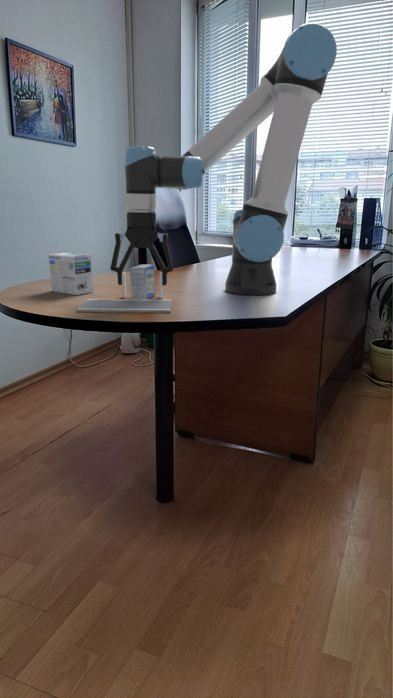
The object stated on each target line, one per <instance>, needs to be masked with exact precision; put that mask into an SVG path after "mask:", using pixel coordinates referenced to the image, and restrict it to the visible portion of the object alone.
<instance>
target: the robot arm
mask: <svg viewBox="0 0 393 698" xmlns="http://www.w3.org/2000/svg"><path fill="white" fill-rule="evenodd" d="M337 51H338V49H337V43H336V39H335V38H334V35H333V33H332V32H331V31H330V30H329V28H327V27H326V26H325V25H323V24H320V23H317V22H308V23H304V24H302V25H300V26H298V27H296V29H294V30H293V31H292V32H291V33H290V34H289V36H288V37H287V38H286V41H285V42H284V46H283V48H282V50H281V52H280V54H279V56H278V58H277V59H276V61H275V62H274V64H273V65H272V66H271V67H270V68H269V70H268V71H266V73H265V74H264V75H263V76H262V77H261V78H260V84H259V85H257V87H256V88H255V89H253V90H252V91H251V92H250V93H249V94H248V95H247V96H245V98H244V99H243V100H242V101H240V103H238V104H237V105H236V106H235V107H234V108H232V109H231V111H230V112H229V113H227V114H226V115H225V116H224V117H222V119H221V120H220V121H219V122H218V123H217V124H215V125H214V126H213V127H212V128H211V129H210V130H209V131H207V133H205V134H204V135H203V136H202V137H201V138H200V139H199V140H198V141H197V142H195V143H194V144H193V146H192V147H190V148H189V149H188V150H187V151H186V152H185V153H184V154H183V155H180V156H179V155H170V156H168V155H167V156H166V155H164V156H163V155H157V153H156V149H155V148H154V147H152V146H143V145H142V146H141V145H136V146H134V145H133V146H129V147H127V148H126V150H125V165H124V168H125V170H124V171H125V190H126V191H125V200H126V201H125V202H126V206H125V207H126V210H128V211H127V212H126V231H125V232H117V233H115V234H114V238H115V239H114V240H115V246H114V250H113V254H112V258H111V263H110V271H112V272H115V273H117V284H118V285H119V286H121V291H122V292H121V293H122V294H121V295H122V298H123V299H125V298H126V297H127V276H126V275H127V274H126V271H124V269H125V267H126V265H127V263H128V261H129V259H130V257H131V256H132V254H133V251H134V249H141V248H142V249H149V251H150V252H151V254H152V257H153V258H154V259H155V261H156V263H157V266H158V267H159V269H160V271H161V272H159V275H158V276H159V279H158V281H159V282H158V283H159V284H158V285H159V299H163V297H164V296H163V295H164V294H163V293H164V290H163V288H164V286H167V284H168V283H167V282H168V273H170V272H173V270H174V265H173V261H172V256H171V252H170V247H169V245H168V237H169V235H168V233H166V232H165V233H160V232H158V230H157V214H156V212H154V211H156V208H157V206H156V205H157V204H156V203H157V202H156V201H157V200H156V199H157V197H156V192H157V191H156V189H157V188H170V189H172V188H173V189H174V188H175V189H178V190H183V191H184V190H188V189H199V188H201V187H202V186H203V176H204V174H207V172H208V171H209V170H211V169H212V167H213V166H215V165H216V164H217V163H218V162H220V160H222V159H223V158H224V157H225V156H226V155H227V154H228V153H229V152H231V151H232V150H233V149H234V148H235V147H236V146H237V145H238V144H240V143H241V142H242V141H243V140H244V139H245V138H246V137H248V136H249V135H250V134H251V133H252V132H253V131H254V130H255V129H256V128H258V126H259V125H261V124H262V123H263V122H264V121H266V119H268V118H269V117H270V116H271V115H272V116H271V121H270V125H269V128H268V132H267V137H266V141H265V144H264V149H263V152H262V156H261V159H260V160H261V161H260V164H259V167H258V170H257V171H258V172H257V176H256V180H255V184H254V187H253V191H252V195H251V198H249V199H247V200H246V201H244V202H243V206H242V209H238V210H236V211H235V212H234V214H233V219H232V225H233V226H232V227H233V228H232V229H233V230H232V253H231V254H232V255H231V265H230V269H229V271H228V275H227V277H226V280H225V284H224V285H225V286H224V287H225V288H224V290H225V292H227V293H230V294H237V295H244V296H245V295H246V296H249V295H250V296H263V295H271V294H275V293H276V292H277V281H276V276H275V274H274V268H273V264H272V262H273V259H274V258H275V257H276V256H277V255H278V254H279V252H280V251H281V249H282V247H283V244H284V241H285V239H284V238H285V235H284V233H285V231H284V230H285V226H286V223H287V219H288V215H289V213H288V211H287V209H286V207H285V204H286V202H287V201H286V200H287V197H288V194H289V190H290V186H291V183H292V179H293V176H294V171H295V168H296V165H297V162H298V161H297V160H298V157H299V154H300V150H301V147H302V144H303V139H304V136H305V133H306V129H307V125H308V122H309V118H310V114H311V111H312V108H313V105H314V104H316V103H317V102H318V101H320V100H321V99H322V95H323V91H324V88H325V85H326V81H327V78H328V74H329V73H330V71H331V69H333V66H334V64H335V61H336V59H337ZM125 238H126V239H127V240H128V242H129V246H128V248H127V250H126V252H125V254H124V257H123V258H122V260H121V262H120V264H119V266H117V265H118V261H119V257H120V251H121V247H122V242H123V241H124V240H125ZM157 238H158V239H159V242H161V243H162V247H163V251H164V255H165V259H166V263H167V264H166V265H167V267H166V265H165V263H164V261H163V260H162V258H161V256H160V254H159V252H158V250H157V248H156V245H155V244H154V242H155V241H156V240H157ZM122 298H121V299H122Z"/></svg>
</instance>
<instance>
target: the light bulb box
mask: <svg viewBox="0 0 393 698" xmlns="http://www.w3.org/2000/svg"><path fill="white" fill-rule="evenodd" d="M48 264H49V267H48V268H49V276H50V278H49V279H50V289H51V290H50V291H51V292H52V291H54V293H60V294H66V295H73V296H78V295H83V294H89V293H93V292H94V285H93V280H94V279H93V265H92V255H91V254H84V253H83V254H82V253H73V252H72V253H71V252H60V253H59V252H58V253H56V252H55V253H48Z"/></svg>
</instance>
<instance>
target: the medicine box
mask: <svg viewBox="0 0 393 698" xmlns="http://www.w3.org/2000/svg"><path fill="white" fill-rule="evenodd" d="M129 279H130V300H151V299H152V298H153V297H155V294H156V292H155V290H156V289H155V265H154V264H147V263H146V264H138V265H135V266H133V267H130V268H129Z"/></svg>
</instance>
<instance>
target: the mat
mask: <svg viewBox="0 0 393 698" xmlns="http://www.w3.org/2000/svg"><path fill="white" fill-rule="evenodd" d="M172 304H173V300H172V299H148V300H131V299H125V298H123V299H122V298H121V299H115V298H113V299H112V298H111V299H109V298H108V299H107V298H105V299H104V298H102V299H101V298H93V299H92V298H90V299H89V298H86V299H85V301H84V302H83V303H82V304H81V305H80V306H79V307H78V308H76V311H77V313H134V314H135V313H136V314H137V313H138V314H139V313H142V314H143V313H150V314H152V313H154V314H158V313H159V314H161V313H162V314H163V313H164V314H166V313H167V314H168V313H169V314H170V313H171V312H172Z"/></svg>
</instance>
